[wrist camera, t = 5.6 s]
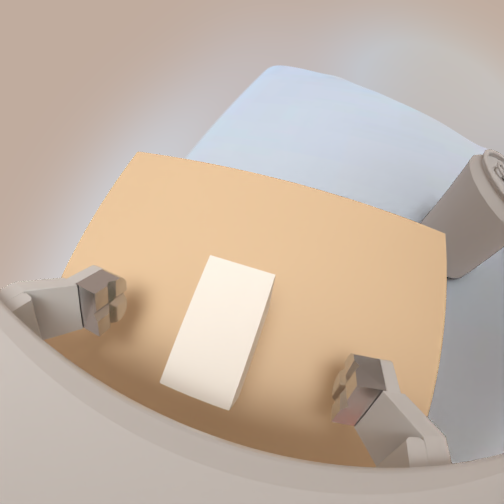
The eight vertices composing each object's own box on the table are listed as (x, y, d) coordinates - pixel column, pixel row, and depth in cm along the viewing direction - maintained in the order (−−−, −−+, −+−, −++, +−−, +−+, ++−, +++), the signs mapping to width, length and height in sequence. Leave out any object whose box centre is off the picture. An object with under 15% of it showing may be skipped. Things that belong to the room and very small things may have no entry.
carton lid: (148, 175, 18) (118, 104, 12) (425, 252, 15) (482, 194, 9) (44, 407, 11) (-32, 402, 5) (355, 524, 8) (401, 577, 2)
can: (455, 296, 21) (540, 239, 10) (404, 249, 23) (474, 167, 12) (472, 247, 23) (537, 186, 12) (428, 205, 25) (482, 129, 14)
